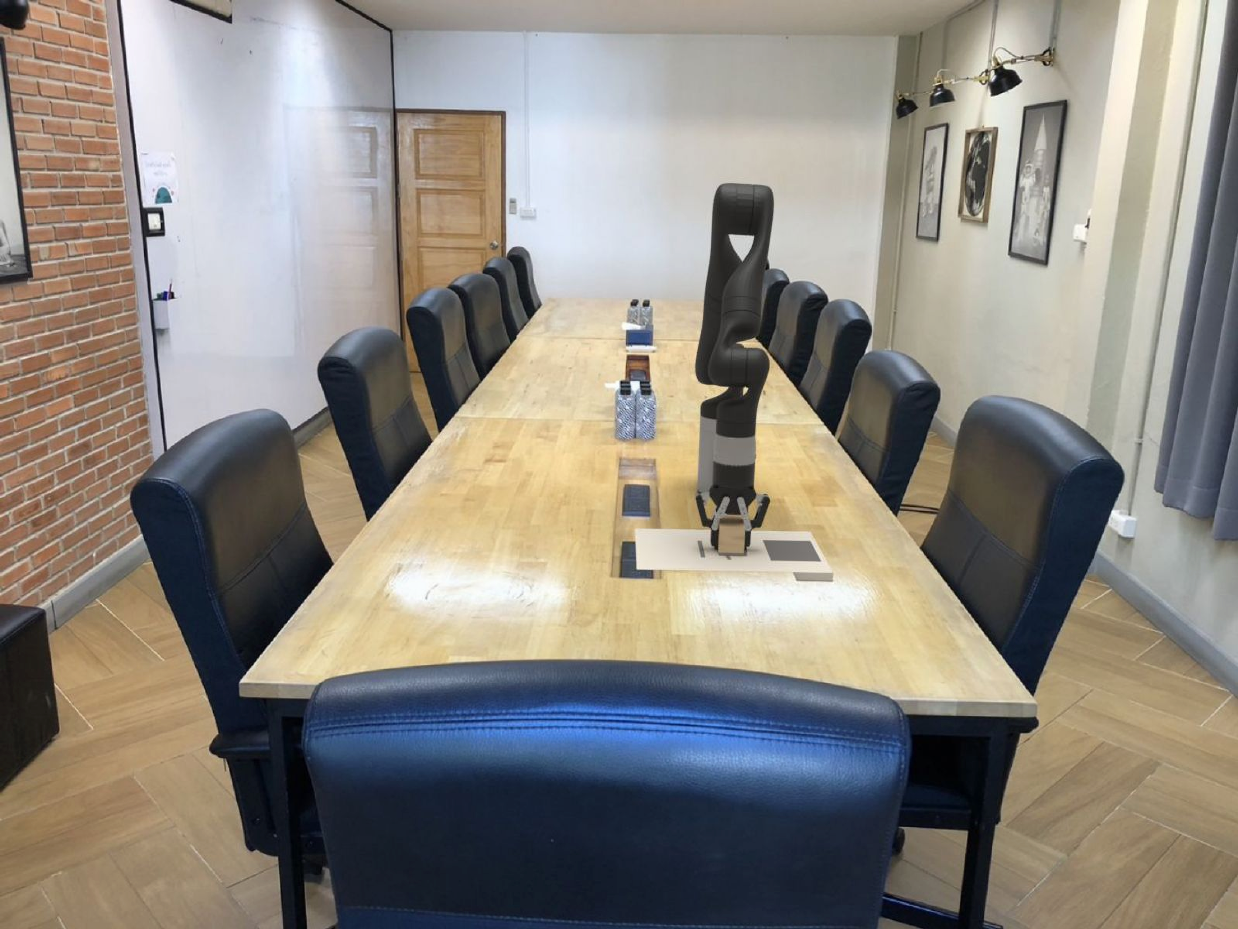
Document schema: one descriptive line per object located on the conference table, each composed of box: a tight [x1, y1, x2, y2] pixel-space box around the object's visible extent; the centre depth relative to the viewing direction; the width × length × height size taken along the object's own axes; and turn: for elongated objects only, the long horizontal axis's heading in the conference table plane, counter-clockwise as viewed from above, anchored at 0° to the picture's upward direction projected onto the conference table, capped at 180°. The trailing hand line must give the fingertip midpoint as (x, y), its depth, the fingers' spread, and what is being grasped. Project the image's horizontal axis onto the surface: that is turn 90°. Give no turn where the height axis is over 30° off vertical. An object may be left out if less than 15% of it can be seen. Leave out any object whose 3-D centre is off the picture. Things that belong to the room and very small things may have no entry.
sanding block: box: [718, 515, 745, 556], centre depth 186 cm, size 7×4×6 cm, turn 178°
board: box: [634, 528, 834, 582], centre depth 187 cm, size 22×34×2 cm, turn 90°
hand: (729, 547), depth 187 cm, fingers closed on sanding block, 4 cm apart
